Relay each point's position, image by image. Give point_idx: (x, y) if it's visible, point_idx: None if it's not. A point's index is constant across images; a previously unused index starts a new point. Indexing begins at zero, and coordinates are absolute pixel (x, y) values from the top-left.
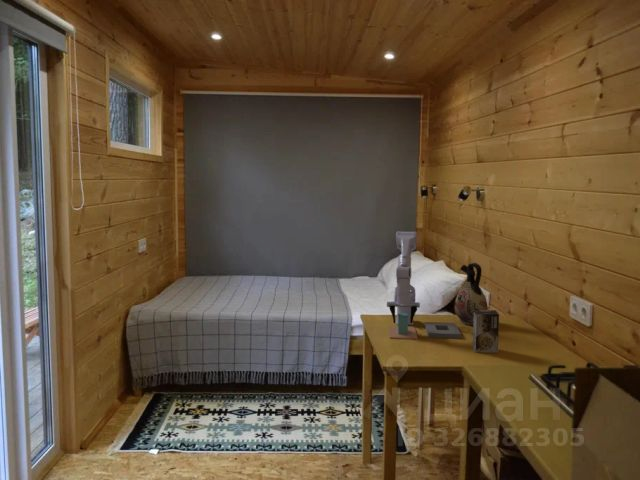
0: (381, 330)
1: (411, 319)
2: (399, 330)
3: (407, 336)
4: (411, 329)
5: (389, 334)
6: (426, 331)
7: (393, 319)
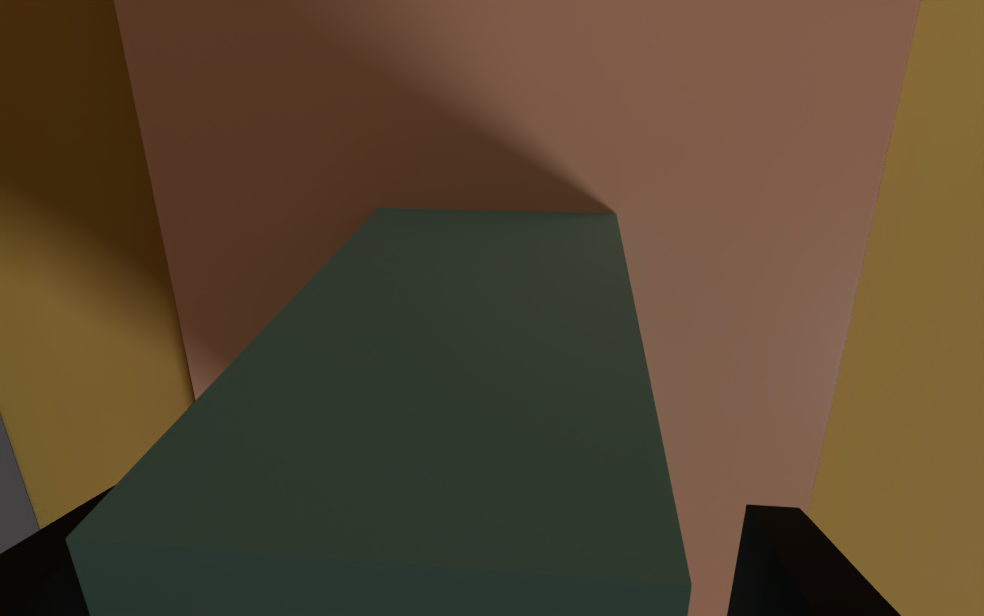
0: (957, 553)
1: (56, 548)
2: (593, 243)
3: (378, 11)
4: None
5: (882, 165)
6: (17, 486)
7: (884, 602)
